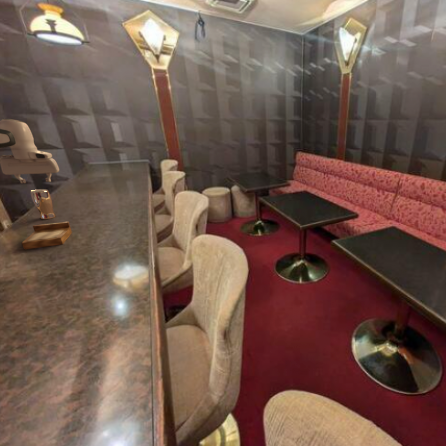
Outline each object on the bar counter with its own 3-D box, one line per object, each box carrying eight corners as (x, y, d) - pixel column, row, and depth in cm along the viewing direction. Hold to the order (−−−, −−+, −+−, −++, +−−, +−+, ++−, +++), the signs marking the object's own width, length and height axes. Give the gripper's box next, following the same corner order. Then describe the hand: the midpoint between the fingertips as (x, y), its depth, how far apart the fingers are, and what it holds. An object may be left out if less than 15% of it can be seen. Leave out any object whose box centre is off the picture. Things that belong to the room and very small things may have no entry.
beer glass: (54, 214, 138) (45, 188, 132) (59, 217, 134) (50, 190, 129) (37, 218, 132) (27, 190, 127) (42, 220, 129) (32, 192, 123)
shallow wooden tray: (24, 249, 100) (19, 237, 98) (37, 236, 112) (33, 225, 110) (63, 244, 106) (59, 232, 104) (72, 232, 117) (68, 221, 115)
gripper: (-8, 155, 114) (4, 185, 119) (51, 155, 123) (60, 182, 128) (-1, 154, 119) (10, 182, 124) (55, 153, 129) (63, 179, 134)
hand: (36, 182), depth 126 cm, fingers open, 8 cm apart
